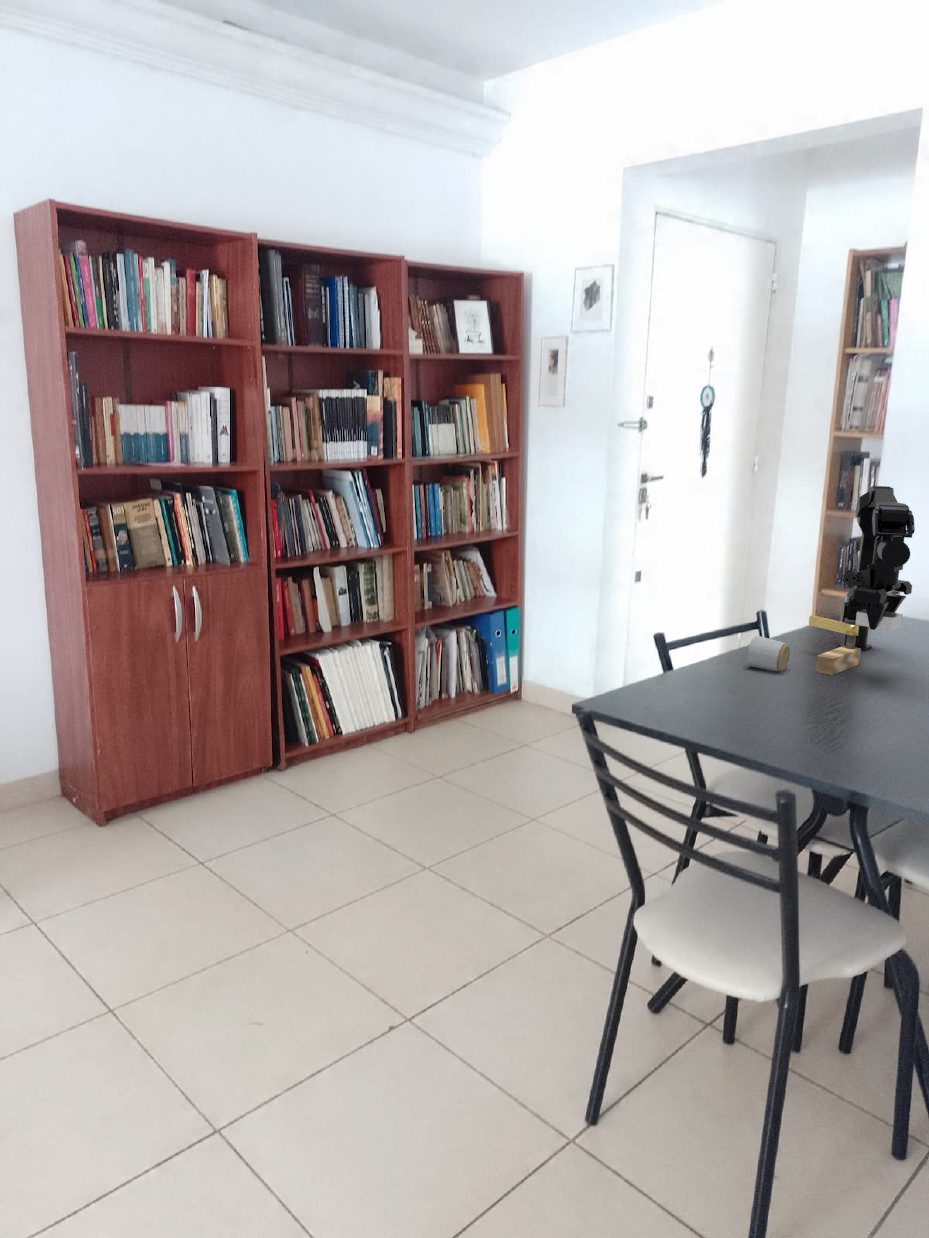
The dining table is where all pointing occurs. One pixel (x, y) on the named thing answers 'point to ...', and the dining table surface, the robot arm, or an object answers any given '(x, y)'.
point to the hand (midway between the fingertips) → (878, 627)
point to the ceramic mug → (768, 654)
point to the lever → (834, 625)
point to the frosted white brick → (881, 620)
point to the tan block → (839, 658)
